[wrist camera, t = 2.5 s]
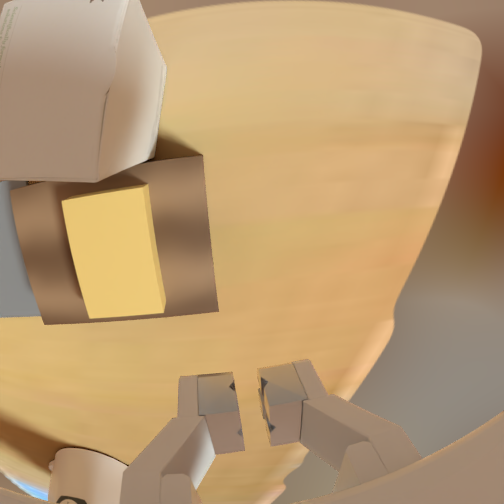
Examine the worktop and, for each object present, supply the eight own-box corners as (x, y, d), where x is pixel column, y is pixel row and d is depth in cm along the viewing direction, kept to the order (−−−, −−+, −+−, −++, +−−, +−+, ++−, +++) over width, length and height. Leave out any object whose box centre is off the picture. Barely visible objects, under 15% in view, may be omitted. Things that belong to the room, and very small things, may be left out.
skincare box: (99, 65, 20) (2, -6, 6) (173, 65, 21) (142, -32, 7) (85, 159, 23) (-34, 182, 8) (159, 163, 24) (99, 185, 9)
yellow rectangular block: (166, 300, 24) (163, 312, 22) (96, 306, 23) (89, 318, 21) (147, 184, 21) (142, 187, 19) (72, 196, 20) (61, 200, 18)
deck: (216, 289, 28) (218, 311, 25) (59, 304, 26) (44, 324, 22) (202, 154, 24) (203, 155, 21) (32, 183, 22) (9, 190, 18)
